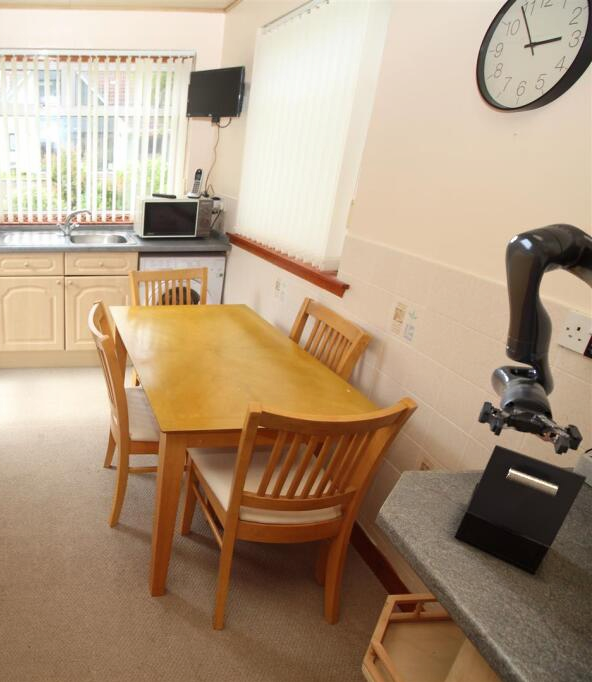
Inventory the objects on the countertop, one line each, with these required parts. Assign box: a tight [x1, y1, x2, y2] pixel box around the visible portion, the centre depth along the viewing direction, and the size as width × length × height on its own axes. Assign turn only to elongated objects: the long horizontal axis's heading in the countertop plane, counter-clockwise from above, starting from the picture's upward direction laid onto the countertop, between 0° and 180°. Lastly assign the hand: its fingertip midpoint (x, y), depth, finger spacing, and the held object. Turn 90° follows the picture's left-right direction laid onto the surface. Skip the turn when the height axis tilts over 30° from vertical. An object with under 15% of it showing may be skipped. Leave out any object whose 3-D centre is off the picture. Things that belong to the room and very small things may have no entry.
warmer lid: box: [467, 444, 587, 548], centre depth 74 cm, size 12×11×5 cm
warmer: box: [454, 482, 550, 576], centre depth 82 cm, size 12×11×6 cm
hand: (529, 440), depth 85 cm, fingers open, 8 cm apart
